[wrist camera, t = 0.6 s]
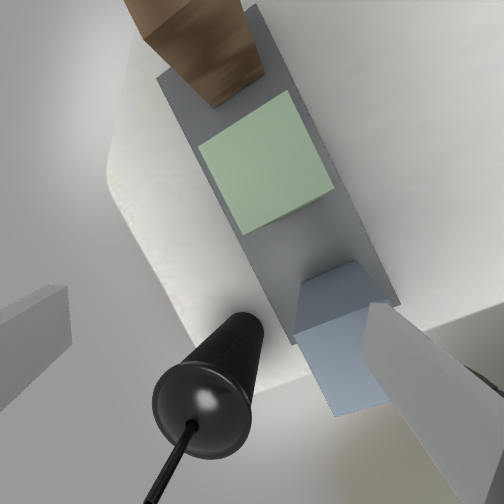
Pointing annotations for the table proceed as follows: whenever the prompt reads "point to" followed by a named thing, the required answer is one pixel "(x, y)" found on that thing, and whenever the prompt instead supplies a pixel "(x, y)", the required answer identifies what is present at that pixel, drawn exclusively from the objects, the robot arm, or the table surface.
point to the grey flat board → (297, 223)
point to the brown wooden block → (201, 43)
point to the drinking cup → (209, 397)
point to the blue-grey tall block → (339, 336)
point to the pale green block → (266, 165)
